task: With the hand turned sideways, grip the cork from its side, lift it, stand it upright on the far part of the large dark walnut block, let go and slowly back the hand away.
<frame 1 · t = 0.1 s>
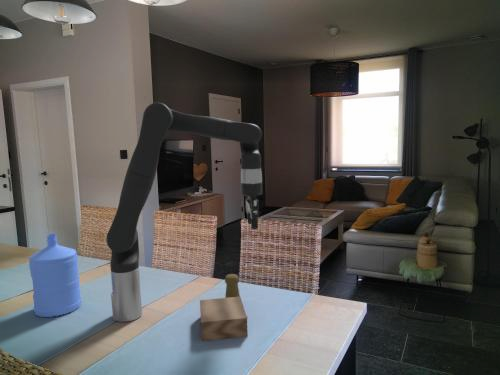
hand: (252, 226, 133), 29 cm above the table, tool pointing down, fingers open, 8 cm apart
water jug: (58, 308, 137), on the table
walnut block: (222, 325, 120), on the table
cork: (232, 304, 137), on the table
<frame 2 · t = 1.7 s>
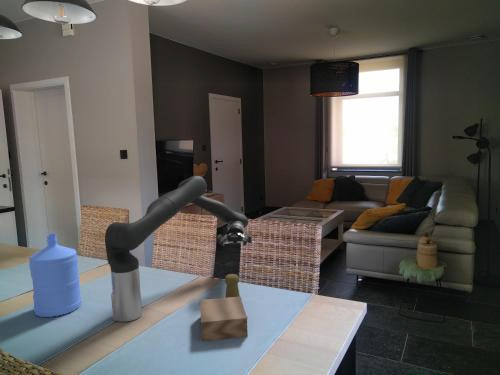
hand: (233, 243, 145), 20 cm above the table, tool horizontal, fingers open, 8 cm apart
nothing on the table moved.
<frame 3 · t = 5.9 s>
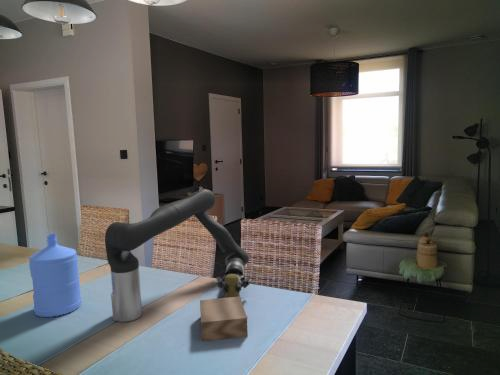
hand: (232, 289, 133), 7 cm above the table, tool horizontal, fingers open, 3 cm apart
cork: (232, 304, 137), on the table, touching gripper
everything else where it was.
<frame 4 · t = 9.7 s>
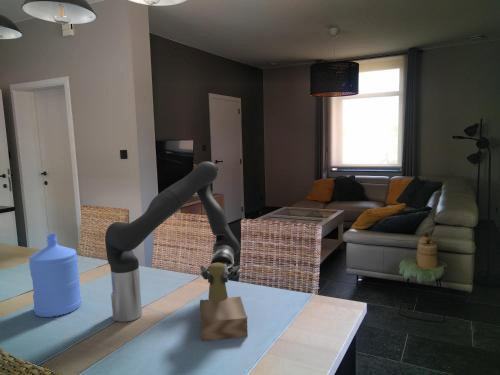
hand: (217, 280, 112), 18 cm above the table, tool horizontal, fingers closed on cork, 3 cm apart
cork: (218, 298, 116), point 11 cm above the table, touching gripper
everything else where it was.
when the fingers open (13 cm above the table, at t = 13.4 s): cork stays where it is, resting on walnut block.
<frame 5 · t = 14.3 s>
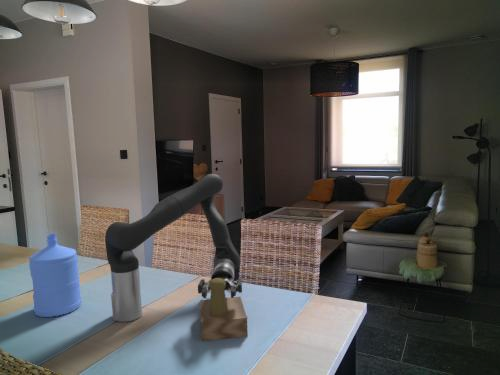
hand: (218, 295, 114), 13 cm above the table, tool horizontal, fingers open, 8 cm apart
cork: (218, 313, 117), point 6 cm above the table, touching walnut block
everything else where it was.
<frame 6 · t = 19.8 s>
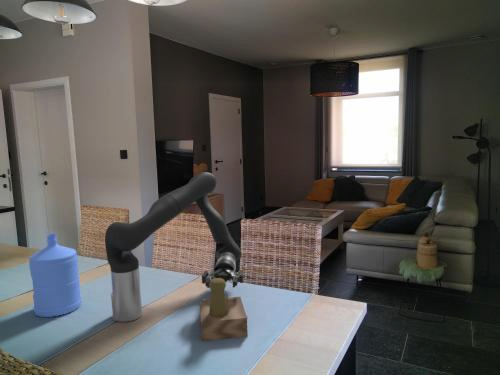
hand: (220, 284, 122), 13 cm above the table, tool horizontal, fingers open, 8 cm apart
nothing on the table moved.
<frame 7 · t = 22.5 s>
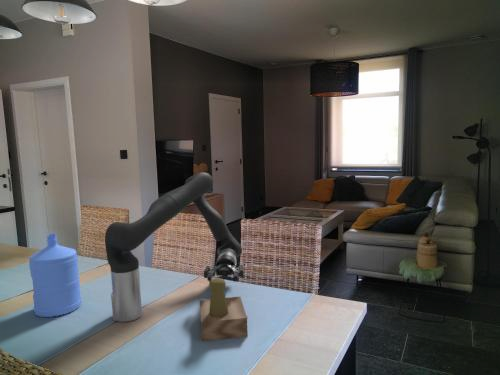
hand: (222, 279, 127), 13 cm above the table, tool horizontal, fingers open, 8 cm apart
nothing on the table moved.
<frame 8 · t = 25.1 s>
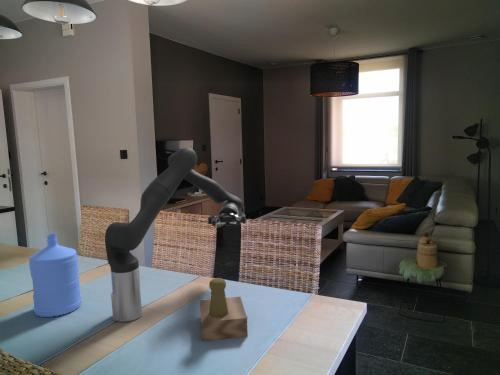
hand: (225, 223, 135), 30 cm above the table, tool horizontal, fingers open, 8 cm apart
nothing on the table moved.
at the end: cork inside the target area on the walnut block (3.4 cm from its centre), point 5.8 cm above the walnut block's base; cork tilted 0°; the gripper is holding nothing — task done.
